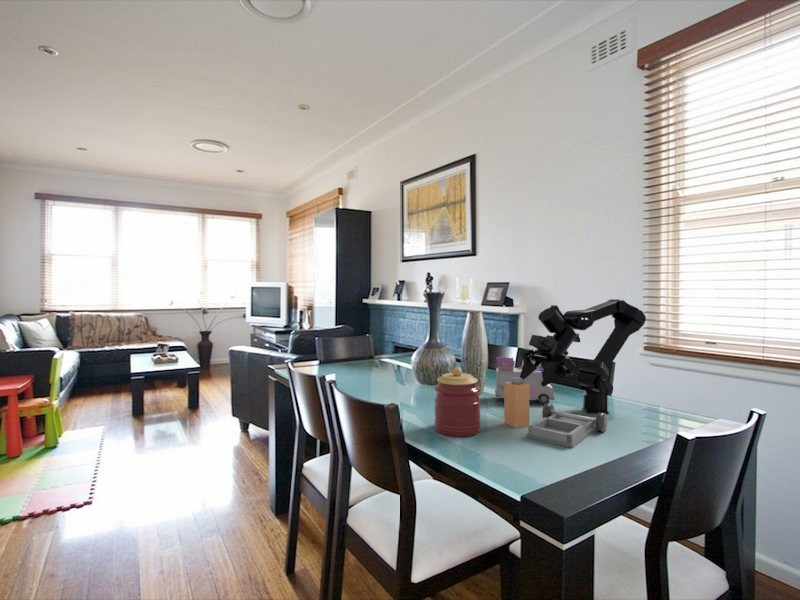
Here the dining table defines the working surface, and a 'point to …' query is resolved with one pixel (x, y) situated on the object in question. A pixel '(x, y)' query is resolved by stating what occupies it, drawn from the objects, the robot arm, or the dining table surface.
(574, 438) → the chassis
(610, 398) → the dining table surface
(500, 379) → the toy vehicle
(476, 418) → the canister
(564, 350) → the robot arm
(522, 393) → the block with grey dome
